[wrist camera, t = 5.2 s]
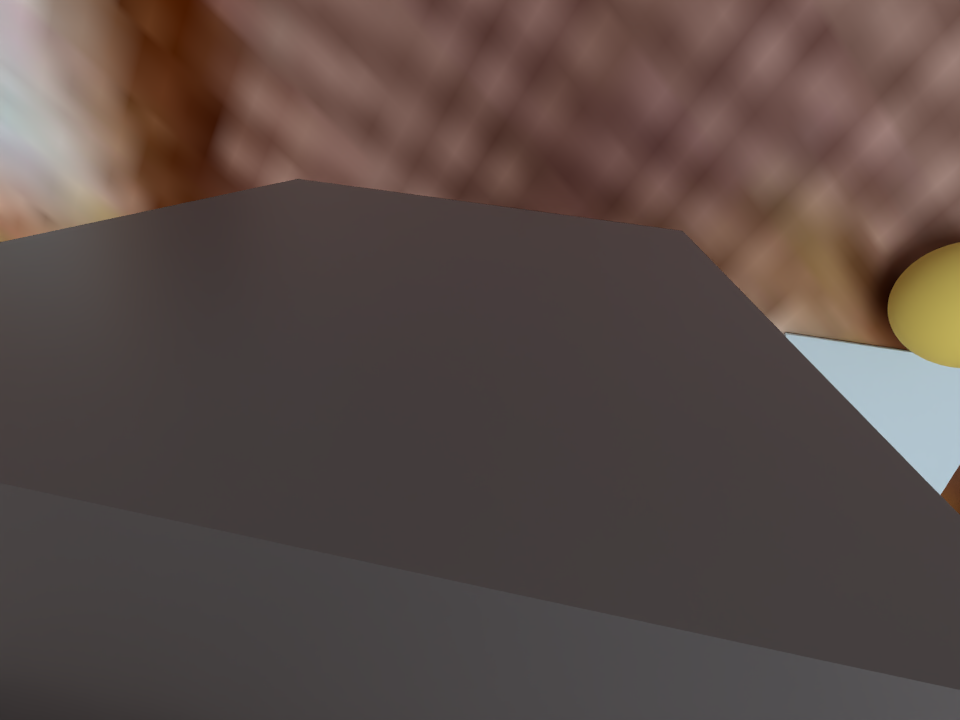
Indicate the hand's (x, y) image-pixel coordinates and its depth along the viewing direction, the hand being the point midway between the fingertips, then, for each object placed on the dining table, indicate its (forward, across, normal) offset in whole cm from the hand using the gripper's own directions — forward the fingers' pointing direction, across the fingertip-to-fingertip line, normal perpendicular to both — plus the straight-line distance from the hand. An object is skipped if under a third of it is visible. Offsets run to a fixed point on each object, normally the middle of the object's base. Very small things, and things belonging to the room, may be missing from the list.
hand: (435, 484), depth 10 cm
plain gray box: (+3, 0, 0) cm, 3 cm away
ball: (+14, -18, -2) cm, 23 cm away
